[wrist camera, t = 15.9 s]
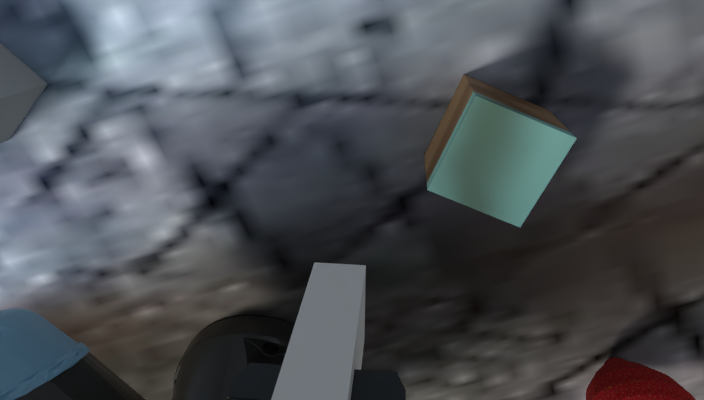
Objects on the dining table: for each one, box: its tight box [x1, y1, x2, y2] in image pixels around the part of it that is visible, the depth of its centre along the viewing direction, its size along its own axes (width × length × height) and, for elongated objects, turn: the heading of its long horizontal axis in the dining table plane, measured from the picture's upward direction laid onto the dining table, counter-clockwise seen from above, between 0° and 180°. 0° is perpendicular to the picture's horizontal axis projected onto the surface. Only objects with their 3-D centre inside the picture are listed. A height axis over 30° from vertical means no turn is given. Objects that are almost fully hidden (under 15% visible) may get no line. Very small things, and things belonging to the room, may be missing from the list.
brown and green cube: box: [424, 74, 577, 227], centre depth 30 cm, size 6×6×6 cm
